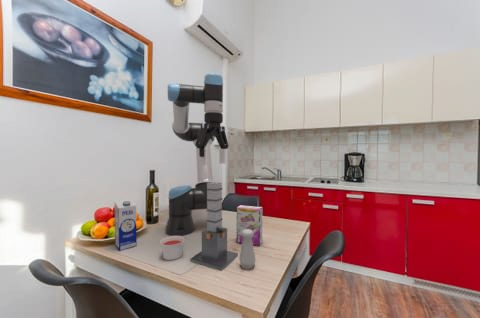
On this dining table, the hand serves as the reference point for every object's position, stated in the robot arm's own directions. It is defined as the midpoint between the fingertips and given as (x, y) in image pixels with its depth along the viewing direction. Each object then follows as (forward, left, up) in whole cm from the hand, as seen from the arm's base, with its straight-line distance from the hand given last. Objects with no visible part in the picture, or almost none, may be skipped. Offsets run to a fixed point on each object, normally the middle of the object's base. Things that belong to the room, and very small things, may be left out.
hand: (213, 164), depth 85 cm
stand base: (+4, -6, -36) cm, 37 cm away
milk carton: (-37, -15, -36) cm, 54 cm away
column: (+4, -6, -29) cm, 30 cm away
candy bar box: (+10, +13, -36) cm, 40 cm away
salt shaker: (+18, -5, -36) cm, 41 cm away
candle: (-12, -12, -36) cm, 40 cm away
